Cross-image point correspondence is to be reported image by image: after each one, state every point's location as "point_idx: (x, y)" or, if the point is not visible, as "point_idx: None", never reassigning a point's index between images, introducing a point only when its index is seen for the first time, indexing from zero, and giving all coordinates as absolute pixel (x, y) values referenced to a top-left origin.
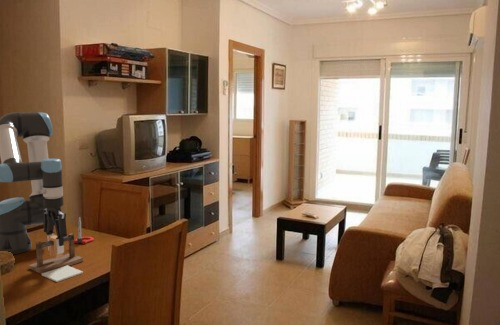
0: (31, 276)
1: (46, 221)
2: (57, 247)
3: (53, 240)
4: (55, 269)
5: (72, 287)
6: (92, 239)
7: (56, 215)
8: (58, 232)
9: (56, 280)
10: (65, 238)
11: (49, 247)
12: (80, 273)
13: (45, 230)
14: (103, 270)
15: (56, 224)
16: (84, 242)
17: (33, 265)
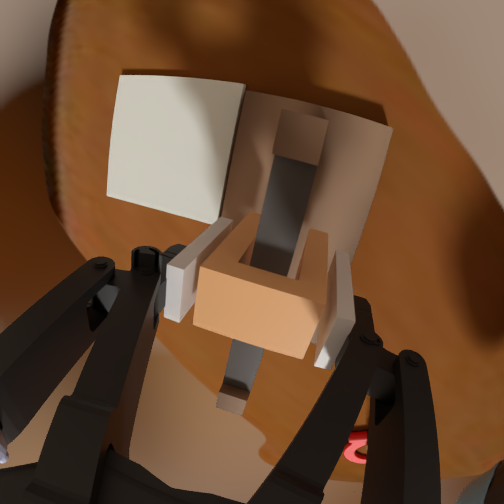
0: (280, 52)
1: (392, 466)
2: (204, 232)
3: (238, 266)
4: (225, 157)
5: (60, 88)
6: (344, 454)
7: (2, 469)
8: (118, 301)
9: (122, 75)
10: (231, 353)
11: (325, 255)
12: (110, 183)
13: (398, 365)
14: (83, 246)
15: (82, 370)
16: (353, 435)
17: (362, 130)
